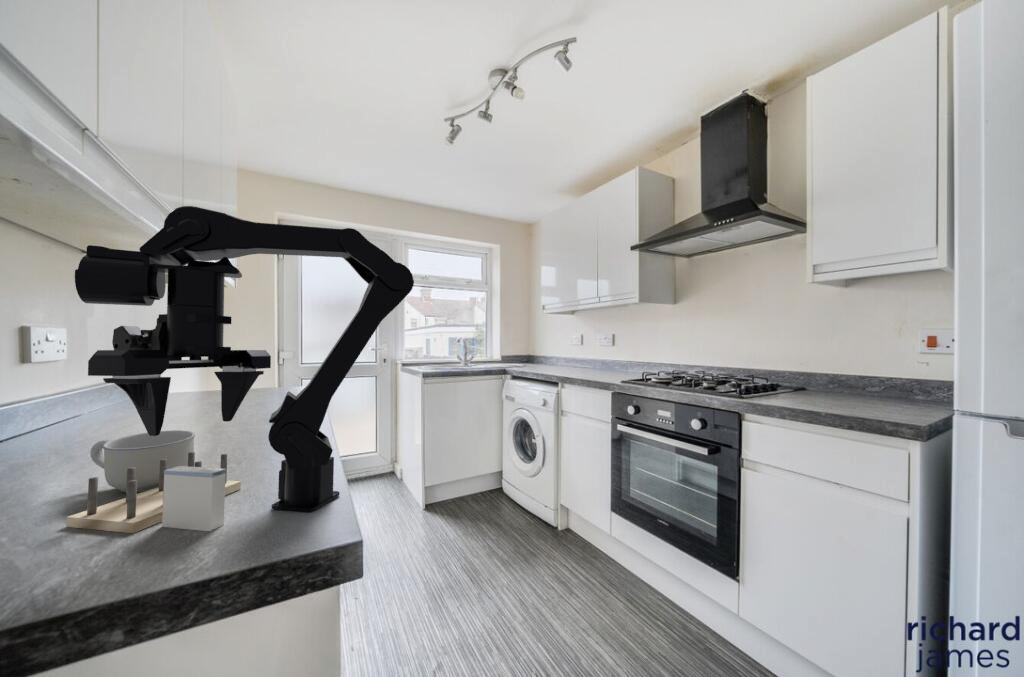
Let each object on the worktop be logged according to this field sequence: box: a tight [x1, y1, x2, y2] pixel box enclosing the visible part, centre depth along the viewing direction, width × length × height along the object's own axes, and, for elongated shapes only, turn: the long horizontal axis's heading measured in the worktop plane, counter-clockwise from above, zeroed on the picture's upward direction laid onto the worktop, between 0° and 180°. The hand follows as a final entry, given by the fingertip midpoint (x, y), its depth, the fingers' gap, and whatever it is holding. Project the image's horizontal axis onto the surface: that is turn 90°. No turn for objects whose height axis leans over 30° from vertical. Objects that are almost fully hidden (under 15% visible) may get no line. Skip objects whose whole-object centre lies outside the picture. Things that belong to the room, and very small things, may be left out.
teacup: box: [90, 429, 196, 494], centre depth 62 cm, size 14×11×8 cm
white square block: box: [161, 466, 226, 532], centre depth 48 cm, size 7×2×7 cm, turn 81°
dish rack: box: [65, 451, 242, 534], centre depth 54 cm, size 10×15×6 cm, turn 171°
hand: (193, 427), depth 49 cm, fingers open, 9 cm apart
